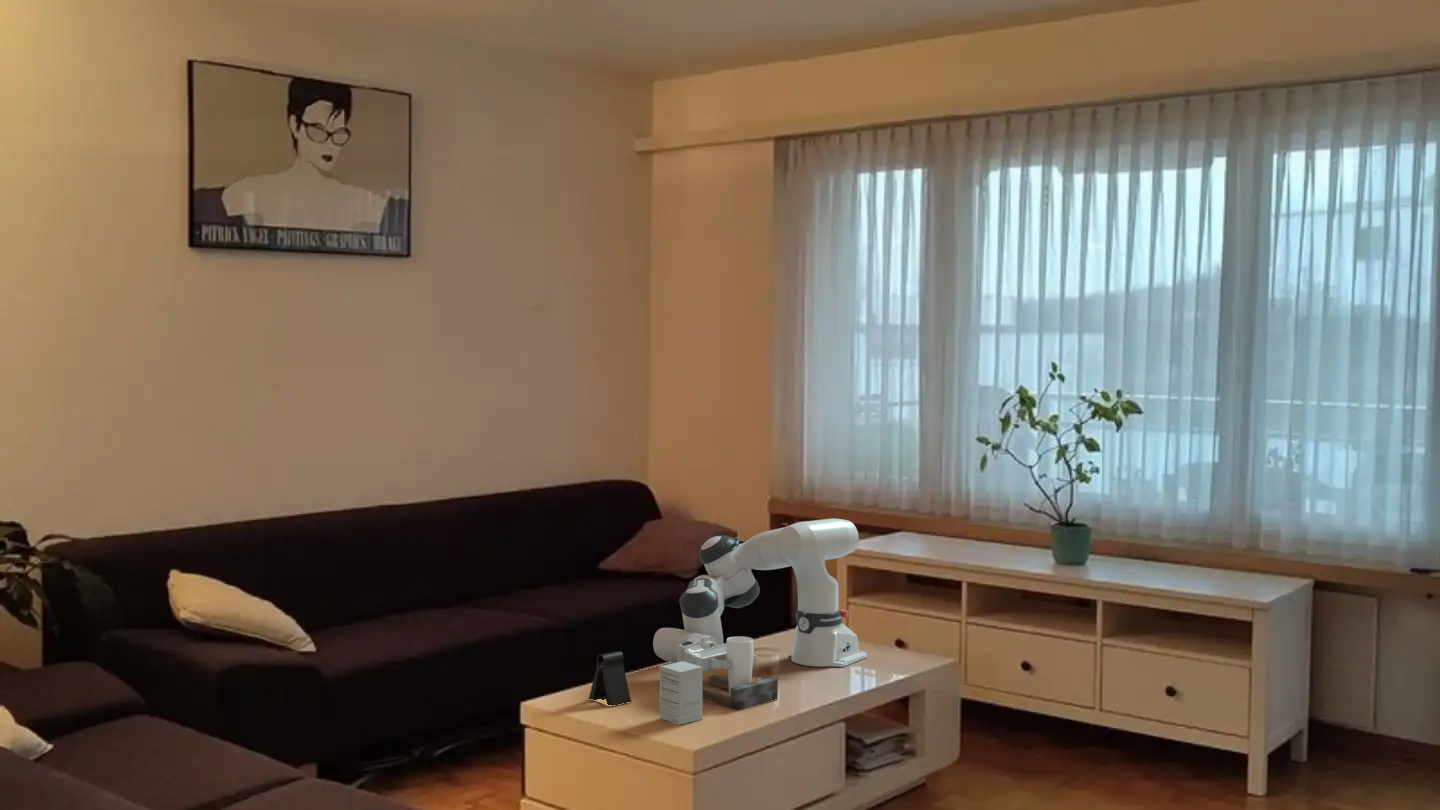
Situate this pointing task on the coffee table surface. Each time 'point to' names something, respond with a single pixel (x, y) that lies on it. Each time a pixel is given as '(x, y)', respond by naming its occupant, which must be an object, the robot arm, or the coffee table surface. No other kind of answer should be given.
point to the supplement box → (681, 692)
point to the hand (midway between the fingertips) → (741, 662)
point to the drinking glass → (739, 661)
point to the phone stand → (610, 679)
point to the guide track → (742, 693)
